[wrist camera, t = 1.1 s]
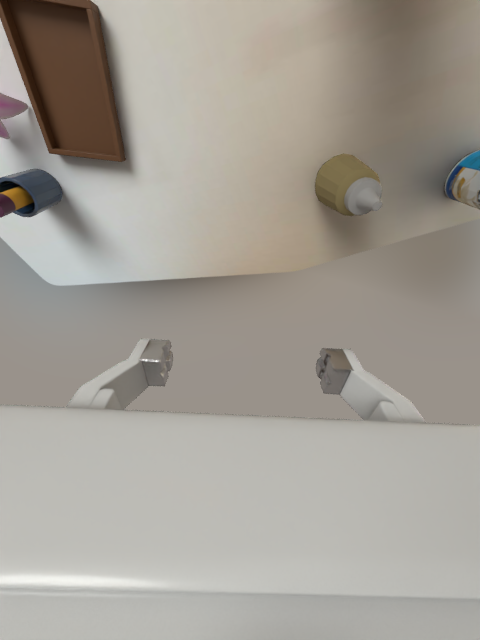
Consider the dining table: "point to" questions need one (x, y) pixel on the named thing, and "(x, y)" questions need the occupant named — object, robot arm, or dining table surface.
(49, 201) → the pen cup
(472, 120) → the dining table surface
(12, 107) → the lily
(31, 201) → the glue stick
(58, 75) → the desk tray
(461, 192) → the beverage bottle
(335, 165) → the squeeze bottle
